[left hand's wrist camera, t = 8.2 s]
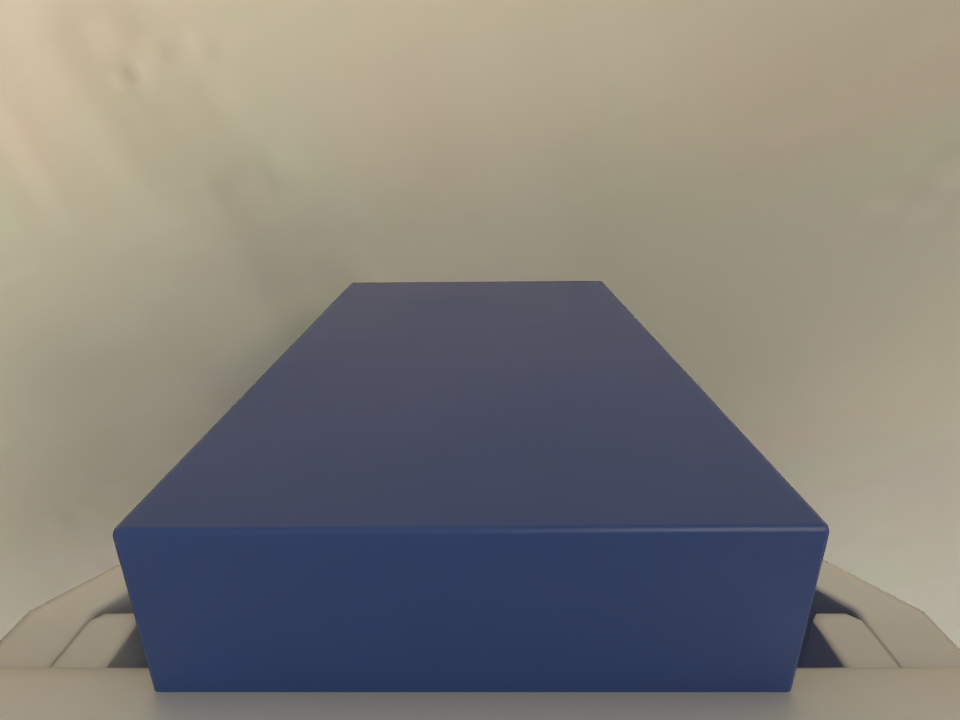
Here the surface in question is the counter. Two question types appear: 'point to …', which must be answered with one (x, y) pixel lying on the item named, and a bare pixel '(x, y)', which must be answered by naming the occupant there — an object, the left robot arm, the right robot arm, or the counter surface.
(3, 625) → the counter surface
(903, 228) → the counter surface
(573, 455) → the block
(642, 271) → the counter surface
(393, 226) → the counter surface
